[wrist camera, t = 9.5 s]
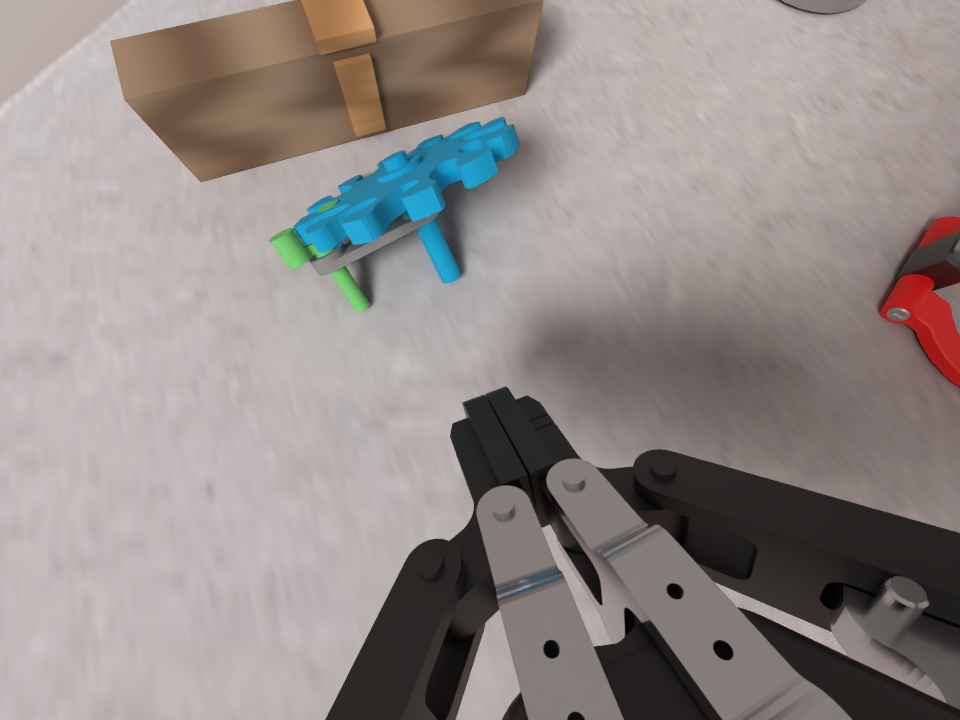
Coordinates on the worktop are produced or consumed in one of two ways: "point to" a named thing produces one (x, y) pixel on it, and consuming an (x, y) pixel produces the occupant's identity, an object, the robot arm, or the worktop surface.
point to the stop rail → (320, 74)
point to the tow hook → (931, 295)
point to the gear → (396, 205)
